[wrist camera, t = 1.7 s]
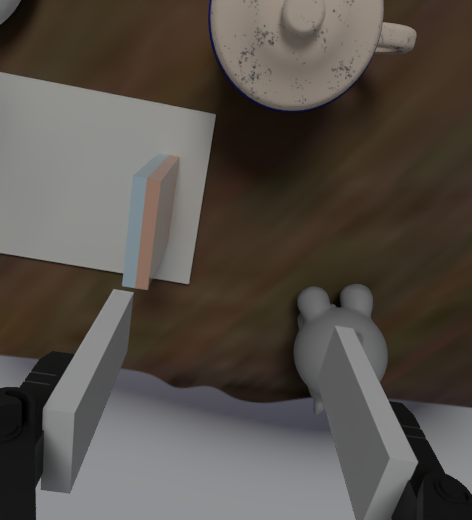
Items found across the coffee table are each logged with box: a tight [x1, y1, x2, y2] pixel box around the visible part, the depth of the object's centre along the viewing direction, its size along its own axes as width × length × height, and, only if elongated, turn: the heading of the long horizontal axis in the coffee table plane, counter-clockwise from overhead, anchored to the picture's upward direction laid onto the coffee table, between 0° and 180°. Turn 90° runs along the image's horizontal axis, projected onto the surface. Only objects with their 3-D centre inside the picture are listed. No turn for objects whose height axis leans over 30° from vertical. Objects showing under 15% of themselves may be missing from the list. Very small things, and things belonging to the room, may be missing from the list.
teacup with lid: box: [208, 0, 416, 113], centre depth 25 cm, size 12×9×12 cm
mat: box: [0, 72, 216, 284], centre depth 34 cm, size 18×14×1 cm
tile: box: [122, 153, 180, 290], centre depth 30 cm, size 2×7×9 cm, turn 169°
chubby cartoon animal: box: [294, 284, 388, 415], centre depth 36 cm, size 7×12×8 cm, turn 0°
